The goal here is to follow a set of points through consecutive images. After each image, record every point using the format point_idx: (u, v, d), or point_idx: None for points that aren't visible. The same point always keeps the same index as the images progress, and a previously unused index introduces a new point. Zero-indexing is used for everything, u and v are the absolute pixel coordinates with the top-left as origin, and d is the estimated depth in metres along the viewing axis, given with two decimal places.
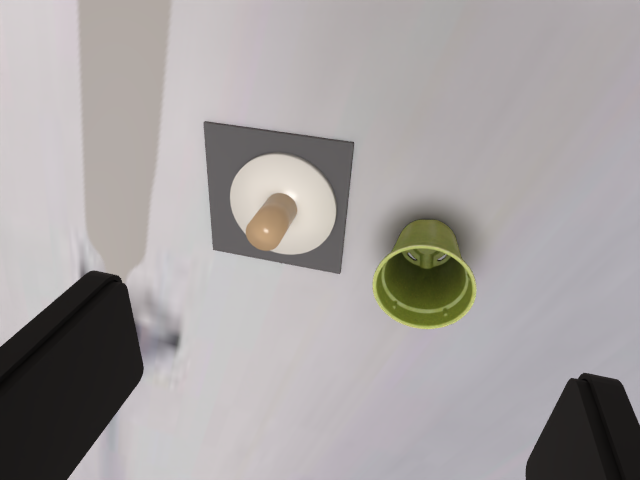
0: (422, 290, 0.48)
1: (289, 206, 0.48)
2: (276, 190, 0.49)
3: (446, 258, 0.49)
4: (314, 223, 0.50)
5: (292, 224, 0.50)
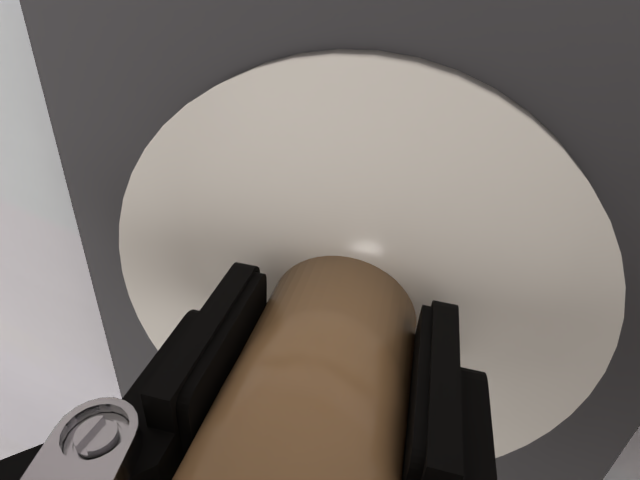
0: None
1: None
2: None
3: None
4: None
5: None
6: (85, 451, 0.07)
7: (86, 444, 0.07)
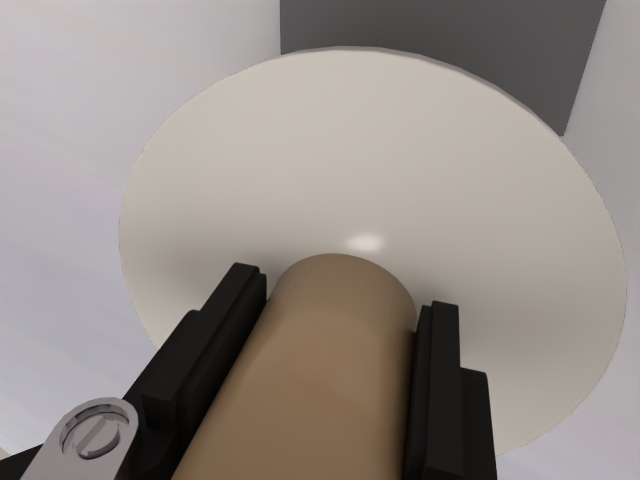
0: None
1: None
2: None
3: None
4: None
5: None
6: (85, 451, 0.07)
7: (86, 444, 0.07)
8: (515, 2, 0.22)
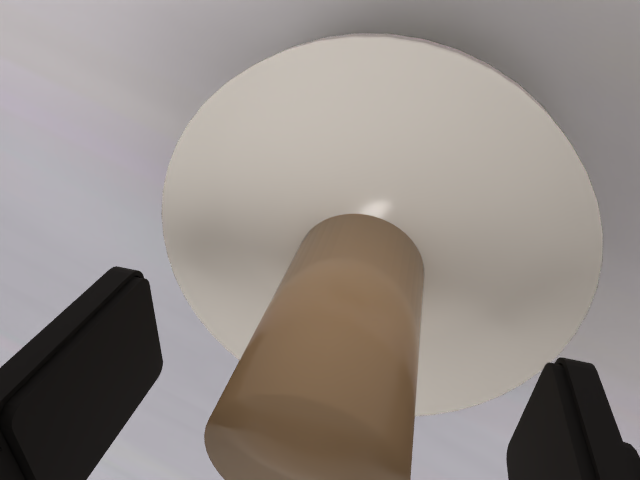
0: None
1: None
2: (434, 267, 0.12)
3: None
4: None
5: None
6: None
7: None
8: None
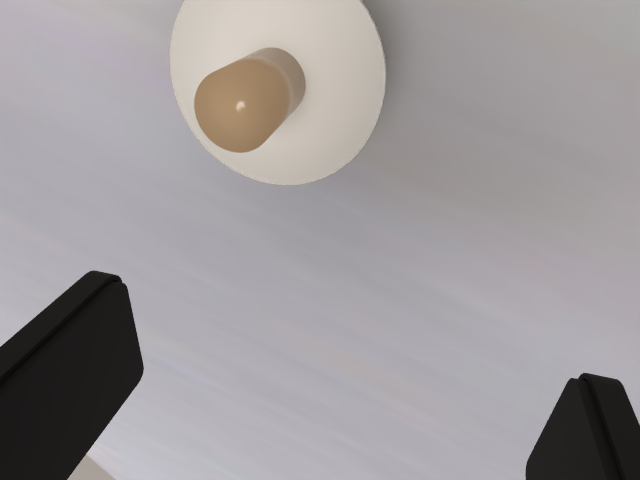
0: None
1: None
2: (309, 75, 0.24)
3: None
4: None
5: None
6: None
7: None
8: None
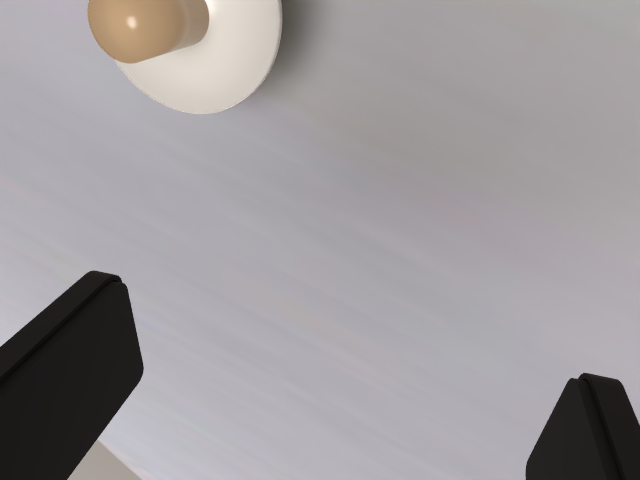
0: None
1: (189, 43, 0.26)
2: (211, 5, 0.27)
3: None
4: (170, 77, 0.29)
5: None
6: None
7: None
8: None
